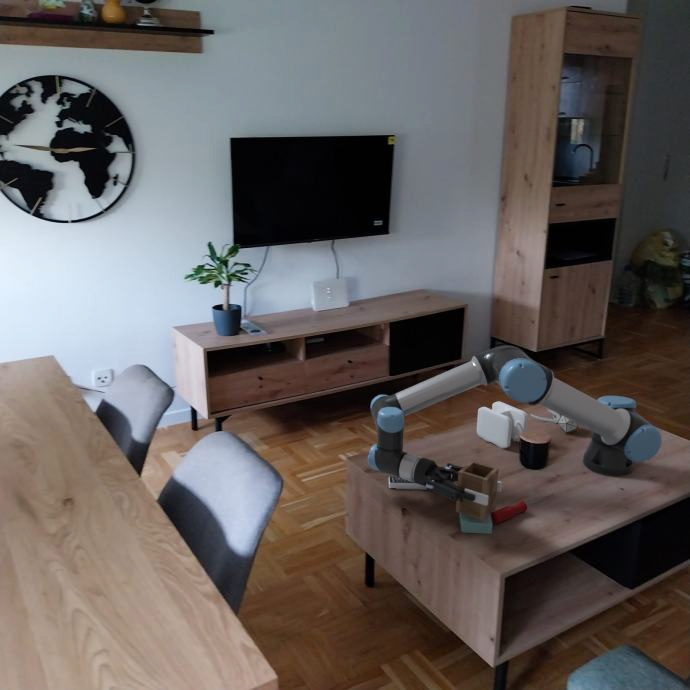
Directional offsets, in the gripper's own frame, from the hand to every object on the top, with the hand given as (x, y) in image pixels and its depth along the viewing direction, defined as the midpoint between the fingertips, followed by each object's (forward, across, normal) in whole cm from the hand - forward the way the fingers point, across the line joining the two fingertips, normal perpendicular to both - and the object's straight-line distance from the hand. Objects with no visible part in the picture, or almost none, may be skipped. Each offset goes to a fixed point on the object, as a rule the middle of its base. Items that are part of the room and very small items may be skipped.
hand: (494, 493), depth 188 cm
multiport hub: (-29, -9, -12) cm, 33 cm away
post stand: (-5, 0, -11) cm, 12 cm away
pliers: (-11, -83, -12) cm, 85 cm away
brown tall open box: (-5, 0, -6) cm, 8 cm away
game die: (-3, -75, -11) cm, 76 cm away
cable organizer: (-20, -55, -11) cm, 60 cm away
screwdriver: (+4, -15, -12) cm, 19 cm away
